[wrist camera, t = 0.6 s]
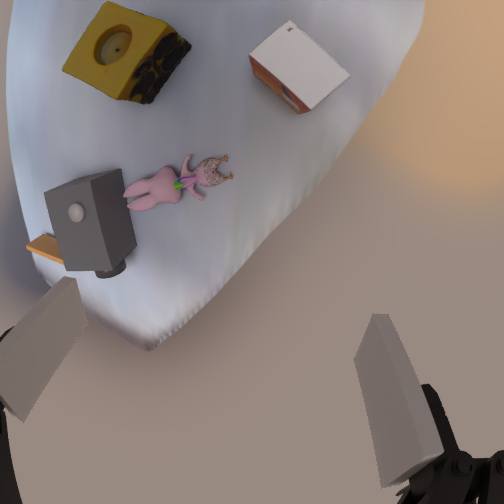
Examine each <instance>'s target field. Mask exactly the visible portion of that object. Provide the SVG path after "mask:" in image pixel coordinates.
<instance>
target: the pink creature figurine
mask: <svg viewBox="0 0 504 504" xmlns="http://www.w3.org/2000/svg"><path fill="white" fill-rule="evenodd" d="M190 157H191V156H190V155H189V154H188V155H187V156H186V158H185V160H184V162H183V165H182V170H181V176H180V177H179V178H177V176H176V174H175V172H174V171H173V170H172V169H171V168H169V167H163V168H162V169H161V170H160V171H159V172H158V173H157V174H156V175H155V176H154V177H153V178H151V179H141V180H138V181H136V182H135V183H133V184H131V185H130V186H129V187H128V188H127V189H126V191H125V192H124V195H123V197H135V196H138V195H141V194H145V193H147V192H150V193H149V194H148V195H145V196H142V197H140V198H138V199H135V200H134V201H132V202H131V203H129V204H127V207H128V208H129V209H132V210H134V211H145V210H149V209H152V208H154V207H155V206H156V205H157V204H158V203H173V204H176V203H178V201H179V200H180V197H181V190H183V189H187V190H188V191H189V192H190V193H191V194H192V195H193V196H194V197H196V198H198V199H199V200H203V199H204V198H203V196H201V195H198V194H197V193H196V192H195V190H194V188H193V187H194V185H195V184H196V183H197V184H199V185H202V186H206V187H211V186H215V185H218V184H220V183H221V182H223V181H224V180H226V179H229V178H231V179H233V176H232V174H231V172H230V176H229V177H226V178H225V177H222V176H221V174H220V173H218V172H216V169H217V167H218V164H219V162H220V161H222V160H226V161H227V160H228V158H227V156H226V155H225V157H224V158H223V159H221V160H217V159H213V158H210V159H206V160H204V161H202V162H201V163H200V164H199V165H198V166H197V167H196V169H195V170H194V171H189V170H188V169H187V163H188V161H189V159H190ZM227 162H228V161H227Z"/></svg>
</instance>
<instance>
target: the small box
mask: <svg viewBox="0 0 504 504" xmlns="http://www.w3.org/2000/svg"><path fill="white" fill-rule="evenodd" d="M249 58H250V62H251V65H252V69H253V73H254V74H255V75H256V76H257V77H258V78H260V79H261V80H262V81H263V82H264V83H266V84H267V85H268V86H269V87H270V88H271V89H273V90H274V91H275V92H276V93H277V94H278V95H279V96H280V97H281V98H282V99H283V100H284V101H285V102H286V103H287V104H289V105H290V106H291V107H292V108H293V109H294V110H295V111H296V112H297V113H298V114H302V113H305V112H308V111H311V110H312V109H314V108H315V107H316V106H317V105H318V104H319V103H320V102H322V101H323V100H324V99H325V98H326V97H327V96H329V95H330V94H331V93H332V92H333V91H334V90H336V89H337V88H338V87H339V86H340V85H341V84H343V83H344V82H345V81H346V80H347V79H349V78H350V77H351V74H350V73H349V72H348V71H347V70H346V69H344V68H343V67H342V66H341V65H340V64H339V63H338V62H337V61H336V60H335V59H334V58H333V57H332V56H331V55H330V54H329V53H327V52H326V51H325V50H324V49H323V48H322V47H321V46H320V45H319V44H318V43H316V42H315V41H314V40H313V39H312V38H311V37H310V36H308V35H307V34H306V33H305V32H304V31H303V30H302V29H300V28H299V27H298V26H297V25H296V24H295V23H294V22H293V21H291V20H288V21H287V22H286V23H285V24H283V25H282V26H281V27H280V28H278V29H277V30H276V31H275V32H274V33H272V34H271V35H270V36H269V37H268V38H266V39H265V40H264V41H263V42H262V43H261V44H259V45H258V46H257V47H256V48H255V49H254V50H253V51H252V52H250V53H249Z"/></svg>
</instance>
